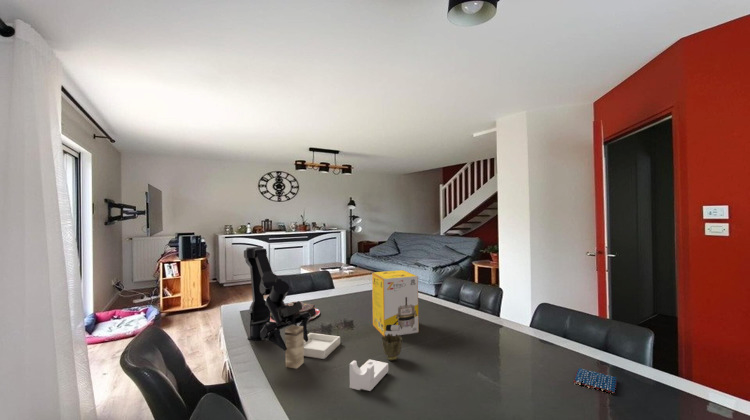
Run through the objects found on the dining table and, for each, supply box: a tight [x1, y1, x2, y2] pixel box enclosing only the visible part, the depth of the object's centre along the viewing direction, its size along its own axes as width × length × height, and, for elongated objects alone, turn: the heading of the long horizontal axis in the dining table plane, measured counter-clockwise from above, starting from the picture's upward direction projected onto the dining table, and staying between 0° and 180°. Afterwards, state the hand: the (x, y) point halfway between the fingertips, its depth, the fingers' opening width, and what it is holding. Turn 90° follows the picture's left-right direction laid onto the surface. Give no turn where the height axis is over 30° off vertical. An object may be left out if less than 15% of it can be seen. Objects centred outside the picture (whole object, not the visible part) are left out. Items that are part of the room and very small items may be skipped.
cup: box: [381, 334, 403, 362], centre depth 116 cm, size 8×7×8 cm
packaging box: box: [371, 269, 420, 337], centre depth 146 cm, size 16×16×25 cm
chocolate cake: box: [269, 301, 321, 323], centre depth 167 cm, size 28×28×7 cm
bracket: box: [348, 358, 389, 392], centre depth 101 cm, size 13×7×8 cm, turn 153°
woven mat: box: [573, 367, 618, 394], centre depth 98 cm, size 10×11×2 cm
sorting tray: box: [303, 332, 341, 360], centre depth 125 cm, size 14×14×3 cm
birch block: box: [284, 325, 305, 369], centre depth 112 cm, size 5×5×13 cm
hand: (297, 345), depth 112 cm, fingers open, 9 cm apart
